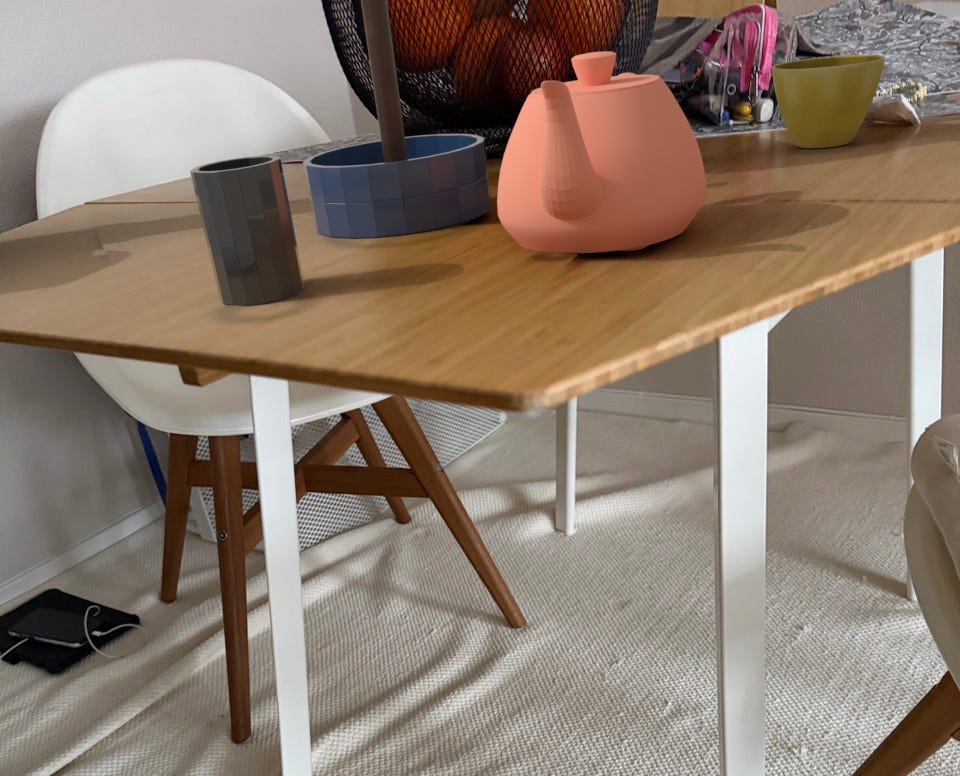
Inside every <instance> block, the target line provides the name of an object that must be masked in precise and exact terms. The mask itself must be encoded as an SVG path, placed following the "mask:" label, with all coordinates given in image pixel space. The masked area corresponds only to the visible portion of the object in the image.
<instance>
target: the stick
mask: <svg viewBox="0 0 960 776" xmlns="http://www.w3.org/2000/svg"><path fill="white" fill-rule="evenodd" d="M360 4H361V12H362V19H363V25H364V31H365V38H366V46H367V52H368V53H367V54H368V59H369V67H370V73H371V74H370V75H371V80H372V87H373V95H374V101H375V107H376V114H377V121H378V130H379V135H380V140H381V143H382V150H383V157H384V163H386V162H395V161H402V160H408V157H407V150H406V142H405V137H406V135H405V128H404V120H403V113H402V107H401V106H402V105H401V98H400V91H399V83H398V75H397V67H396V60H395V53H394V45H393V39H392V38H393V37H392V31H391V23H390V17H389V9H388V1H387V0H360Z"/></svg>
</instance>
